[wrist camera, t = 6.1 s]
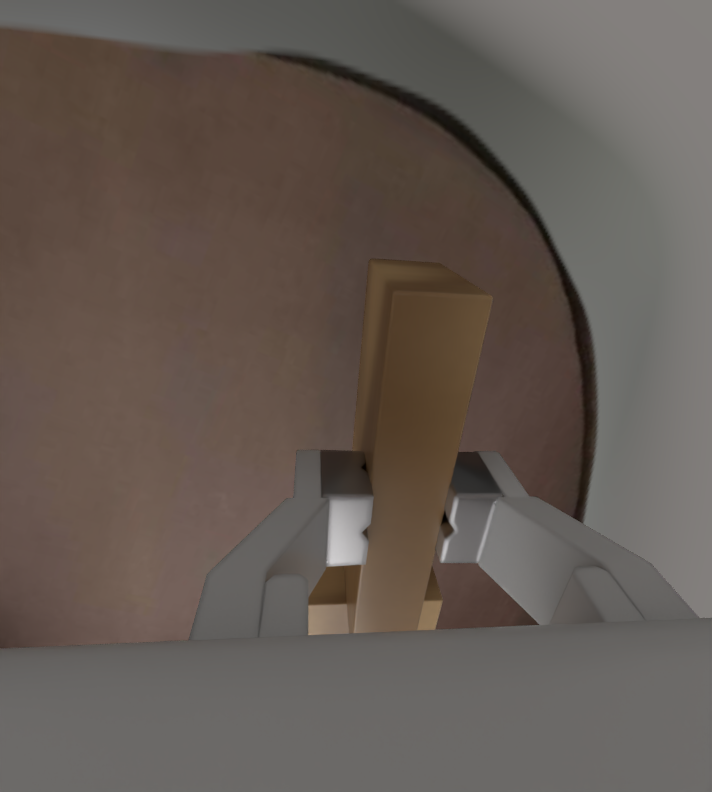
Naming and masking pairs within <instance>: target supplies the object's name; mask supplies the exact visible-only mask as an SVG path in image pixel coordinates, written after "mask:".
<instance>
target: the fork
mask: <svg viewBox="0 0 712 792" xmlns="http://www.w3.org/2000/svg"><path fill="white" fill-rule="evenodd" d="M492 302H493V297H492V296H491V295H489V294H488V293H486V292H485V291H483V290H481V289H480V288H478V287H477V286H475V285H473V284H472V283H470V282H469V281H467V280H466V279H464V278H462V277H461V276H459V275H458V274H456V273H454V272H453V271H451V270H450V269H448V268H447V267H445V266H443V265H442V264H440V263H432V262H416V261H401V260H386V259H370V260H369V264H368V275H367V287H366V298H365V310H364V321H363V333H362V344H361V356H360V367H359V379H358V390H357V401H356V413H355V424H354V436H353V447H352V451H363V452H364V454H365V459H366V466H365V471H366V472H367V473H368V475H369V480H370V483H371V484H372V490H373V496H374V499H373V508H372V518H371V524H370V525H369V526H368V527H367V532H368V539H369V543H368V551H367V559H366V565H349V566H330V567H326V570H325V571H324V573H323V575H322V576H321V578H320V579H319V581H318V583H317V584H316V586H315V588H314V589H313V591H312V592H311V594H310V596H309V597H308V635H323V634H346V633H369V632H392V631H416V630H435V628H436V624H437V621H438V617H439V613H440V609H441V605H442V601H443V599H442V596H441V592H440V589H439V586H438V583H437V580H436V576H435V573H434V570H433V567H432V563H433V559H434V555H435V550H436V549H435V548H436V543H437V538H438V534H439V529H440V526H441V524H442V520H443V515H444V507H445V502H446V498H447V494H448V490H449V485H450V483H451V481H452V476H453V472H454V467H455V463H456V459H457V454H458V450H459V446H460V441H461V437H462V433H463V428H464V424H465V420H466V415H467V411H468V407H469V402H470V398H471V393H472V389H473V385H474V380H475V376H476V372H477V367H478V363H479V359H480V354H481V350H482V346H483V341H484V337H485V332H486V328H487V324H488V319H489V315H490V311H491V306H492Z"/></svg>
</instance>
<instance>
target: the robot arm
mask: <svg viewBox="0 0 712 792" xmlns="http://www.w3.org/2000/svg"><path fill="white" fill-rule="evenodd" d="M365 466H366V459H365V454H364V452H363V451H340V450H321V451H319V450H297V453H296V466H295V481H294V496H293V498H286V499H285V500H284V501H283V502H282V503H281V504H280V505H279V506H278V507H277V508H276V509H275V510H274V511H273V512H272V513H270V514H269V515H268V516H267V517H266V518H265V519H264V520H263V521H262V522H261V523H260V524H259V525H258V526H257V527H256V528H255V529H254V530H253V531H252V532H251V533H250V534H248V535H247V536H246V537H245V538H244V539H243V540H242V541H241V542H240V543H239V544H238V545H237V546H236V547H235V548H234V549H233V550H232V551H231V552H230V553H229V554H228V555H226V556H225V557H224V558H223V559H222V560H221V561H220V562H219V563H218V564H217V565H216V566H215V567H214V568H213V569H212V570H211V571H210V572H209V573H208V574H207V576H206V580H205V583H204V587H203V591H202V594H201V598H200V601H199V605H198V608H197V612H196V615H195V619H194V623H193V626H192V630H191V633H190V637H189V640H185V641H162V642H139V643H116V644H93V645H69V646H46V647H23V648H0V792H712V618H699V617H698V616H697V615H696V613H695V612H694V611H693V610H692V609H691V608H690V607H689V606H688V605H687V603H686V602H685V601H684V600H683V599H682V598H681V597H680V595H679V594H678V593H677V592H676V591H675V590H674V589H673V588H672V586H671V585H670V584H669V583H668V582H667V581H666V580H665V578H663V576H662V575H661V574H660V573H659V572H658V571H657V569H656V568H654V566H653V565H652V564H651V563H650V562H648V561H646V560H644V559H643V558H641V557H639V556H638V555H636V554H634V553H632V552H631V551H629V550H627V549H625V548H624V547H622V546H620V545H619V544H617V543H615V542H613V541H612V540H610V539H608V538H607V537H605V536H603V535H601V534H600V533H598V532H596V531H594V530H593V529H591V528H589V527H587V526H586V525H584V524H582V523H581V522H579V521H577V520H575V519H574V518H572V517H570V516H569V515H567V514H565V513H563V512H562V511H560V510H558V509H556V508H555V507H553V506H551V505H550V504H548V503H546V502H544V501H543V500H541V499H539V498H537V497H529V495H528V494H527V492H526V491H525V489H524V488H523V487H522V485H521V484H520V482H519V481H518V479H517V478H516V477H515V475H514V474H513V472H512V471H511V469H510V468H509V467H508V465H507V464H506V462H505V461H504V459H503V458H502V456H501V455H500V454H499V453H498V452H496V451H474V452H458V454H457V459H456V463H455V467H454V472H453V476H452V481H451V483H450V485H449V490H448V494H447V498H446V502H445V507H444V515H443V520H442V524H441V526H440V529H439V534H438V538H437V543H436V548H435V549H436V552H437V555H438V558H439V561H440V563H479V564H478V565H479V566H480V567H481V568H482V569H483V570H484V571H485V572H486V573H487V574H488V575H489V576H490V577H491V578H492V579H493V580H494V581H495V582H497V583H498V584H499V585H500V586H501V587H502V588H503V589H504V590H505V591H506V592H507V593H508V594H509V595H510V596H511V597H512V598H513V599H514V600H515V601H516V602H517V603H518V604H519V605H520V606H521V607H522V608H523V609H524V610H525V611H526V612H527V613H528V614H529V615H530V616H531V617H532V618H533V619H535V620H536V621H537V622H538V623H539V624H540V625H531V626H508V627H485V628H462V629H439V630H416V631H392V632H369V633H346V634H323V635H308V597H309V596H310V594H311V592H312V591H313V589H314V588H315V586H316V584H317V583H318V581H319V579H320V578H321V576H322V575H323V573H324V571H325V570H326V567H330V566H349V565H366V559H367V551H368V543H369V539H368V532H367V527H368V526H369V525H370V524H371V518H372V508H373V499H374V496H373V490H372V484H371V483H370V480H369V475H368V473H367V472H366V471H365Z"/></svg>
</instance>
